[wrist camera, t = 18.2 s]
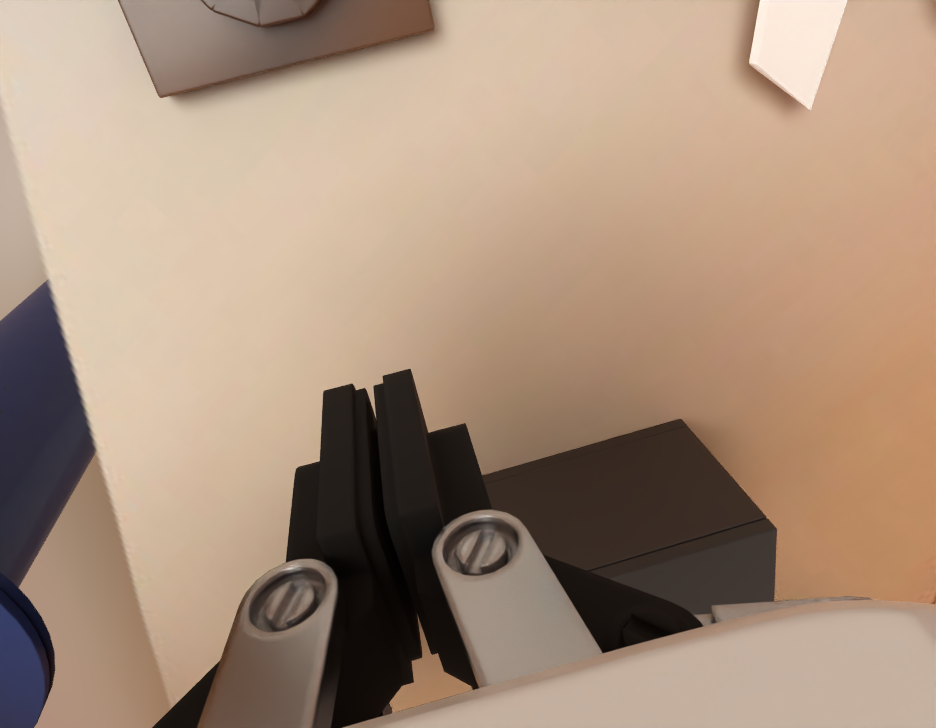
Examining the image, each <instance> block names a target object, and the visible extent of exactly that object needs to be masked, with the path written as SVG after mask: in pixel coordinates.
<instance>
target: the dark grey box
mask: <svg viewBox="0 0 936 728" xmlns="http://www.w3.org/2000/svg"><path fill="white" fill-rule="evenodd" d="M482 477H483V481H484V484H485V487H486V490H487V494H488V497H489V500H490V503H491V507H492V510H496V511H501V512H506V513H508V514H510V515H512V516H514V517H516V518H518V519H519V520H520V522H521V523H522V524H523V525H524V526H525V527H526V529H527V530H528V532H529V533H530V535H531V537H532V538H533V540H534V542H535V543H536V545H537V547H538V548H539V550H540V551H541V553H542V554H543V555H546V556H548V557H551V558H554V559H557V560H559V561H562V562H565V563H567V564H570V565H573V566H576V567H578V568H581V569H584V570H586V571H592V570H596V569H599V568H602V567H606V566H609V565H612V564H616V563H619V562H622V561H626V560H629V559H632V558H636V557H639V556H642V555H646V554H649V553H652V552H656V551H659V550H663V549H666V548H669V547H673V546H676V545H679V544H683V543H686V542H689V541H693V540H696V539H699V538H703V537H706V536H709V535H713V534H716V533H719V532H723V531H726V530H730V529H733V528H736V527H740V526H743V525H746V524H750V523H753V522H756V521H760V520H763V519H766V516H765V515H764V514H763V512H762V511H761V510H760V509H759V508H758V507H757V505H756V504H755V503H754V502H753V501H752V500H751V499H750V497H749V496H748V495H747V494H746V493H745V492H744V491H743V489H742V488H741V487H740V486H739V485H738V484H737V482H736V481H735V480H734V479H733V478H732V477H731V476H730V474H729V473H728V472H727V471H726V470H725V469H724V468H723V466H722V465H721V464H720V463H719V462H718V461H717V460H716V458H715V457H714V456H713V455H712V454H711V453H710V451H709V450H708V449H707V448H706V447H705V446H704V445H703V443H702V442H701V441H700V440H699V439H698V438H697V437H696V435H695V434H694V433H693V432H692V431H691V430H690V428H689V427H688V426H687V425H686V424H685V423H684V422H683V420H682V419H679V420H676V421H672V422H669V423H665V424H662V425H658V426H655V427H651V428H648V429H644V430H641V431H637V432H634V433H630V434H627V435H623V436H620V437H617V438H613V439H610V440H606V441H603V442H599V443H596V444H592V445H589V446H585V447H582V448H578V449H575V450H571V451H568V452H564V453H561V454H558V455H554V456H551V457H547V458H544V459H540V460H537V461H533V462H530V463H526V464H523V465H519V466H516V467H512V468H509V469H505V470H502V471H498V472H495V473H492V474H488V475H485V476H482Z"/></svg>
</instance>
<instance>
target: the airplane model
mask: <svg viewBox="0 0 936 728" xmlns="http://www.w3.org/2000/svg"><path fill="white" fill-rule="evenodd" d="M846 3H847V0H760V4H759V9H758V15H757V21H756V26H755V32H754V37H753V43H752V49H751V54H750V60H749V64H750V65H751V67H753V68H754V69H755V70H757V71H758V72H759V73H761V74H762V75H763V76H765V77H766V78H768V79H769V80H770V81H772V82H773V83H774V84H776V85H777V86H778V87H780V88H781V89H782V90H784V91H785V92H786V93H788V94H789V95H790V96H792V97H793V98H794V99H796V100H797V101H798V102H800V103H801V104H802V105H804V106H805V107H806V108H808V109H809V110H810V111H811V108H812V105H813V102H814V99H815V96H816V93H817V90H818V87H819V84H820V81H821V78H822V75H823V72H824V69H825V66H826V63H827V60H828V57H829V54H830V51H831V48H832V45H833V42H834V39H835V36H836V33H837V30H838V27H839V24H840V21H841V18H842V15H843V12H844V9H845V6H846Z"/></svg>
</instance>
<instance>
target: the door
mask: <svg viewBox="0 0 936 728" xmlns="http://www.w3.org/2000/svg"><path fill="white" fill-rule="evenodd" d="M776 537H777V529H776V527H775V526H774V525H773V524H772V523H771V522H770V521H769V519H763V520H760V521H756V522H753V523H750V524H746V525H743V526H740V527H736V528H733V529H730V530H726V531H723V532H719V533H716V534H713V535H709V536H706V537H703V538H699V539H696V540H693V541H689V542H686V543H683V544H679V545H676V546H673V547H669V548H666V549H663V550H659V551H656V552H652V553H649V554H646V555H642V556H639V557H636V558H632V559H629V560H626V561H622V562H619V563H616V564H612V565H609V566H606V567H602V568H599V569H596V570H592V571H589V572H592V573H594V574H597V575H600V576H603V577H605V578H608V579H611V580H613V581H616V582H619V583H622V584H624V585H627V586H630V587H632V588H635V589H638V590H640V591H643V592H646V593H649V594H651V595H654V596H657V597H659V598H662V599H665V600H667V601H670V602H673V603H675V604H677V605H679V606H681V607H682V608H684V609H686V610H688V611H689V612H690V613H692V614H693V615H701V614H711V606H714V605H729V604H743V603H757V602H772V601H774V590H775V564H776Z"/></svg>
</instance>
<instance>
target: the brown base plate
mask: <svg viewBox="0 0 936 728" xmlns="http://www.w3.org/2000/svg"><path fill="white" fill-rule="evenodd" d="M118 1H119V4H120V6H121V9H122V11H123V13H124V16H125V18H126V20H127V23H128V25H129V27H130V30H131V32H132V35H133V37H134V39H135V42H136V44H137V46H138V49H139V51H140V53H141V56H142V58H143V61H144V63H145V65H146V68H147V70H148V72H149V75H150V77H151V79H152V82H153V84H154V86H155V89H156V91H157V94H158V96H159V97H160V98H163V97H167V96H171V95H175V94H179V93H183V92H187V91H192V90H196V89H200V88H204V87H208V86H212V85H216V84H220V83H224V82H228V81H232V80H236V79H240V78H244V77H248V76H252V75H256V74H260V73H264V72H268V71H272V70H276V69H280V68H284V67H288V66H292V65H296V64H300V63H304V62H308V61H312V60H316V59H320V58H324V57H328V56H332V55H336V54H340V53H344V52H348V51H352V50H356V49H360V48H364V47H368V46H372V45H376V44H380V43H384V42H388V41H392V40H396V39H400V38H404V37H408V36H412V35H416V34H420V33H425V32H429V31H433V30H434V28H435V27H434V22H433V18H432V13H431V8H430V4H429V0H118Z"/></svg>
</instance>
